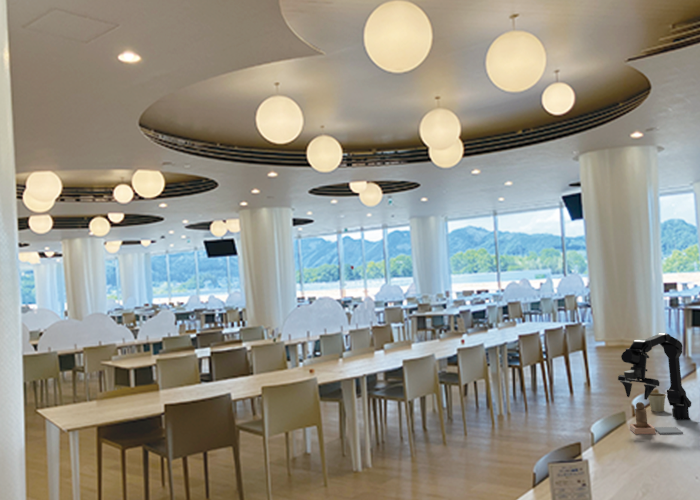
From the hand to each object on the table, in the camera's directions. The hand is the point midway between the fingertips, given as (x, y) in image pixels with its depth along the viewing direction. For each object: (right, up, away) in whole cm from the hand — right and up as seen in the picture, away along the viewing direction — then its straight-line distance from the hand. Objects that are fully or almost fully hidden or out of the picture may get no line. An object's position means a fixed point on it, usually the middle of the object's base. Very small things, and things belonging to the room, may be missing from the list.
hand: (636, 398), depth 287 cm
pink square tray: (+1, -15, -3) cm, 15 cm away
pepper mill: (+1, -15, -3) cm, 15 cm away
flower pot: (+28, -16, +34) cm, 47 cm away
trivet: (+12, -14, -6) cm, 19 cm away
